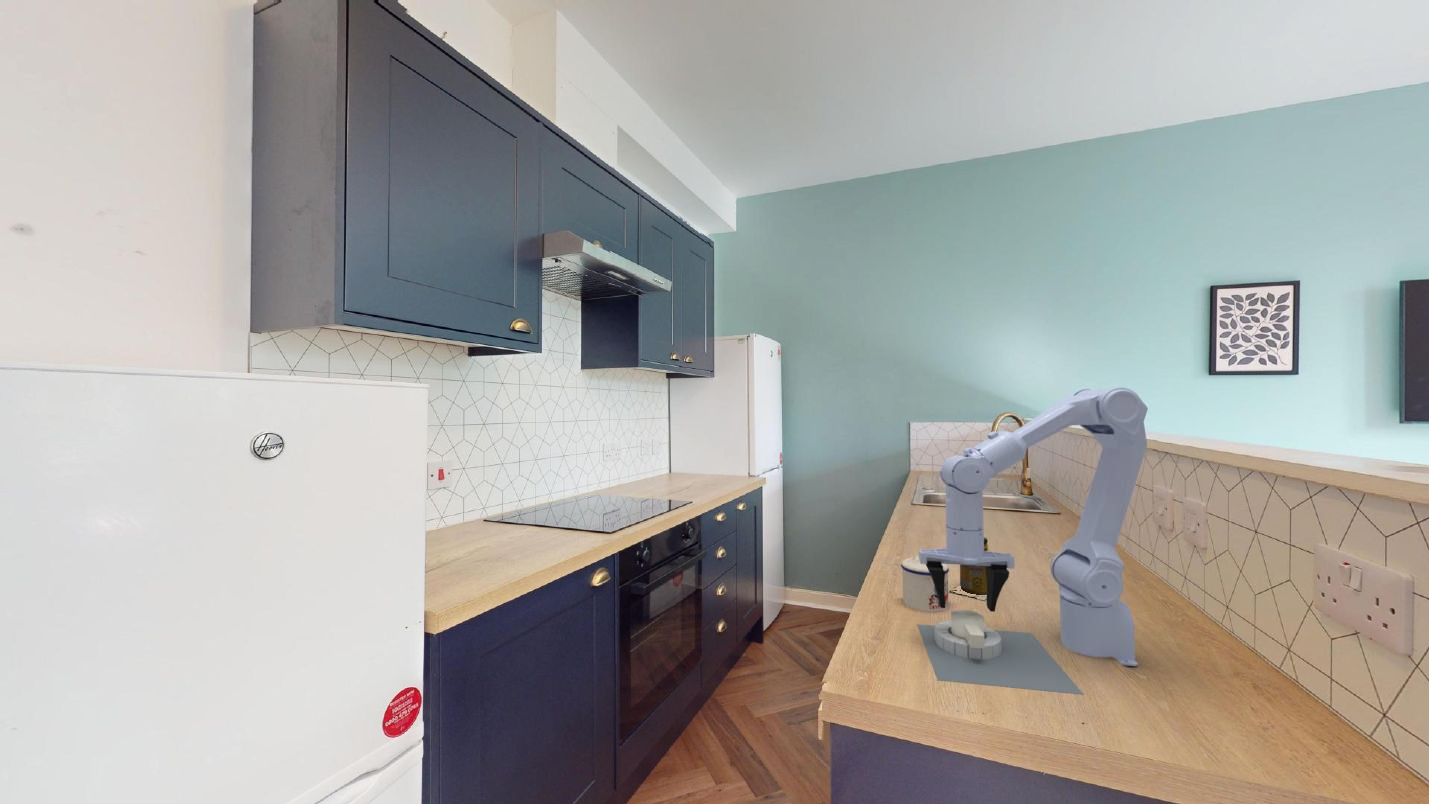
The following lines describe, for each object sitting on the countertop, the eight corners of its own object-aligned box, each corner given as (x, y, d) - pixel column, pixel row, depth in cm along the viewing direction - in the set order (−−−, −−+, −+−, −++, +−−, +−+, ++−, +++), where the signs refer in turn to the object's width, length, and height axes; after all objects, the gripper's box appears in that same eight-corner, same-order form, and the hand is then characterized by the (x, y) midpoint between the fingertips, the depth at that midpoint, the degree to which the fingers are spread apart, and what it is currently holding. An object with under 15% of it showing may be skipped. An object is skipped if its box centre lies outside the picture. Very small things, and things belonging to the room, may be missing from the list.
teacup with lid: (936, 621, 99) (935, 560, 99) (893, 608, 106) (892, 551, 106) (964, 605, 107) (962, 548, 107) (921, 593, 114) (920, 540, 114)
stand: (1031, 638, 91) (1030, 621, 91) (1084, 701, 72) (1083, 679, 72) (917, 629, 96) (916, 613, 96) (937, 686, 76) (937, 666, 76)
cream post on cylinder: (948, 637, 90) (948, 608, 90) (980, 640, 89) (979, 611, 89) (960, 662, 81) (960, 630, 81) (995, 665, 80) (994, 633, 80)
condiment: (997, 590, 115) (996, 536, 115) (984, 601, 109) (982, 544, 109) (963, 583, 120) (962, 531, 120) (948, 592, 114) (947, 538, 114)
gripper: (922, 530, 85) (924, 613, 85) (1020, 534, 82) (1021, 620, 82) (916, 521, 92) (917, 597, 92) (1006, 524, 89) (1007, 604, 89)
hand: (966, 607), depth 87 cm, fingers open, 7 cm apart
